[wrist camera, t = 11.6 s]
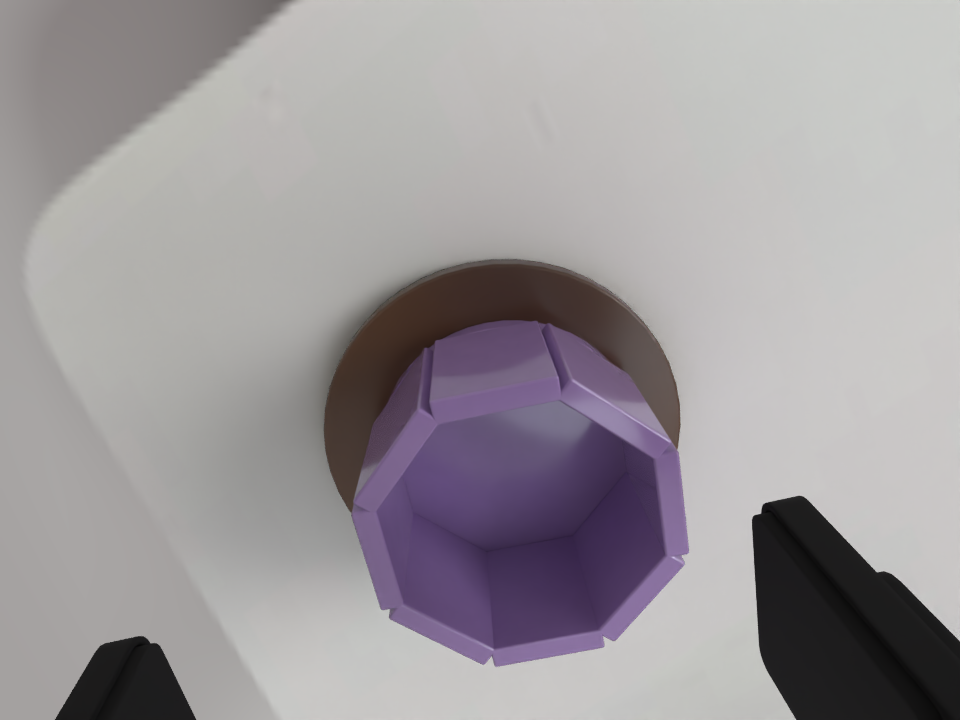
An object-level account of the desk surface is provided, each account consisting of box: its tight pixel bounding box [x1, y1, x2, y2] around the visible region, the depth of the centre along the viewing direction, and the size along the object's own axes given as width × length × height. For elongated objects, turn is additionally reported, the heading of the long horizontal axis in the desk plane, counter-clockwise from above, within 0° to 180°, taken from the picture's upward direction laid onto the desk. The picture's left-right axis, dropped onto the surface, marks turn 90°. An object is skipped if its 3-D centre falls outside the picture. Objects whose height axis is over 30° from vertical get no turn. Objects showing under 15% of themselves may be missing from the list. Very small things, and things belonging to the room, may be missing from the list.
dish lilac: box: [351, 320, 689, 667], centre depth 15 cm, size 6×6×4 cm
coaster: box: [324, 259, 680, 513], centre depth 17 cm, size 9×9×1 cm
